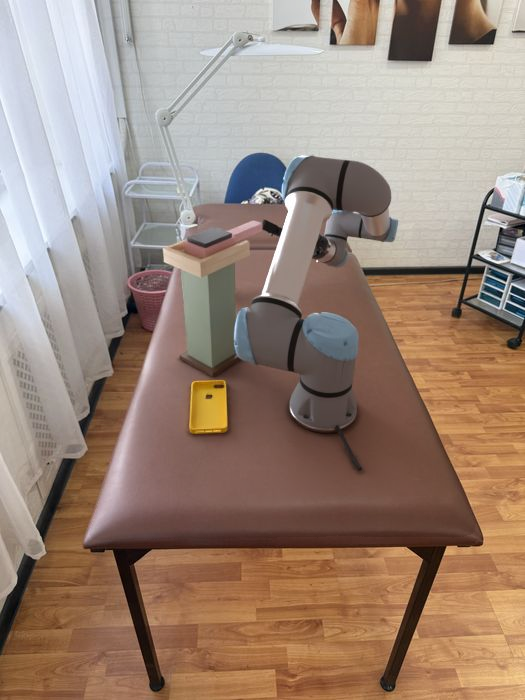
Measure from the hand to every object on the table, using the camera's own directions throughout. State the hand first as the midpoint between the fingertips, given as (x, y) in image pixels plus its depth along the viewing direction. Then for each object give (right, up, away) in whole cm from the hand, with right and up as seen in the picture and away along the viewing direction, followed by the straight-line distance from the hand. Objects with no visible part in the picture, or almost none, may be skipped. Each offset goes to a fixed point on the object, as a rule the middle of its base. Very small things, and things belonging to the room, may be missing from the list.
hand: (282, 230), depth 136 cm
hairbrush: (-14, -7, -16) cm, 23 cm away
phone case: (-18, -46, -19) cm, 53 cm away
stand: (-19, -34, -3) cm, 39 cm away
